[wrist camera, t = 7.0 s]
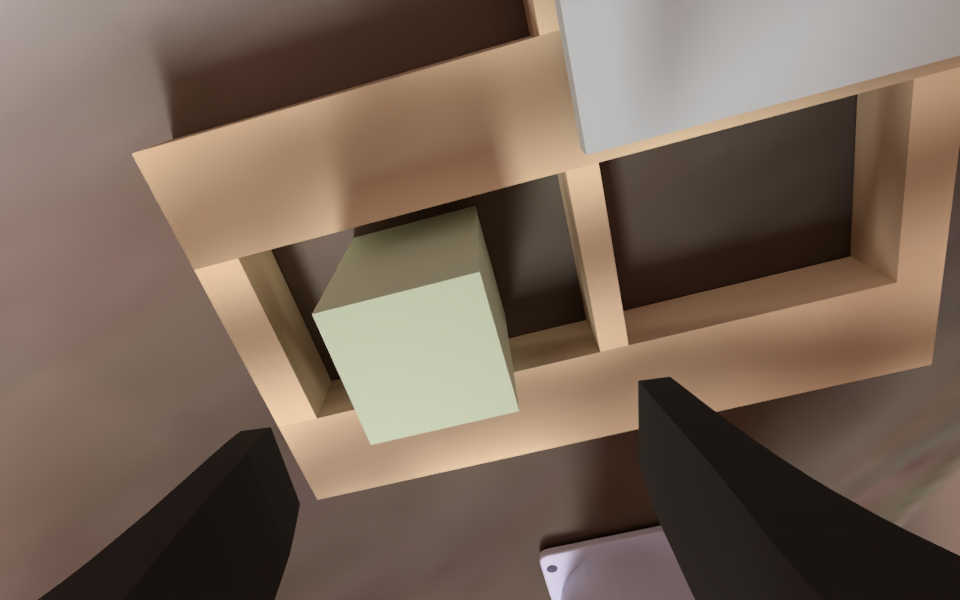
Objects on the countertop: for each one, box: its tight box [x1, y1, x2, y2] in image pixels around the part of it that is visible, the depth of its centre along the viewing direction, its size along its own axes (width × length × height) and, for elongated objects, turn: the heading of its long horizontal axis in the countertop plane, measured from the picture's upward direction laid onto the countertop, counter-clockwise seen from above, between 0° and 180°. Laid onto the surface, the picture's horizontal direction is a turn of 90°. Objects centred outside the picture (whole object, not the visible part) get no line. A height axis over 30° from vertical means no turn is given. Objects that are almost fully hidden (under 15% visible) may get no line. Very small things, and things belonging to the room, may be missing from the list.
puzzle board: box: [132, 0, 960, 500], centre depth 18 cm, size 18×24×2 cm
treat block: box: [312, 206, 519, 445], centre depth 18 cm, size 4×4×6 cm
